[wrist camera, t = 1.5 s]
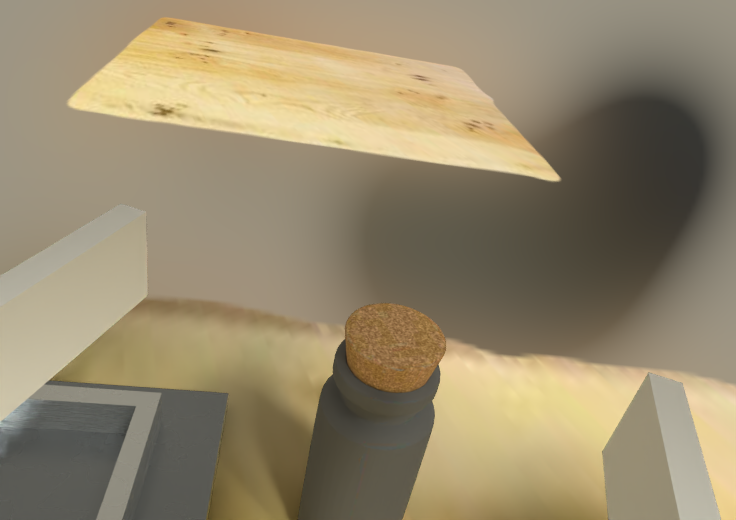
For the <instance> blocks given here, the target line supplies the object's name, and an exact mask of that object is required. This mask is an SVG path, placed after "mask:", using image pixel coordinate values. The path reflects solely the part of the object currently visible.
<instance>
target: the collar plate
mask: <svg viewBox="0 0 736 520" xmlns="http://www.w3.org/2000/svg"><path fill="white" fill-rule="evenodd" d="M227 406H228V393H216V392H202V391H188V390H174V389H160V388H146V387H132V386H118V385H104V384H90V383H76V382H62V381H48V382H46V383H45V384H44V385H43V386H42V387H41V388H39V389H38V390H37V391H36V392H35V393H34V394H32V395H31V396H30V397H29V398H28V399H27V400H25V401H24V402H23V403H22V404H21V405H20V406H18V407H17V408H16V409H15V410H14V411H13V412H11V413H10V414H9V415H8V416H7V417H6V418H4V419H3V420H2V421H1V422H0V520H208V515H209V509H210V503H211V497H212V492H213V486H214V480H215V475H216V469H217V463H218V458H219V452H220V446H221V440H222V435H223V429H224V423H225V418H226V412H227Z"/></svg>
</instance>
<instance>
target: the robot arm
mask: <svg viewBox="0 0 736 520" xmlns="http://www.w3.org/2000/svg"><path fill="white" fill-rule="evenodd" d="M146 222H147V216H146V212H145V211H142V210H139V209H136V208H133V207H130V206H127V205H124V204H120V205H118V206H116V207H115V208H113V209H111V210H110V211H108V212H106V213H105V214H103V215H101V216H99V217H98V218H96V219H94V220H93V221H91V222H89V223H88V224H86V225H84V226H83V227H81V228H79V229H77V230H76V231H74V232H72V233H71V234H69V235H67V236H66V237H64V238H62V239H61V240H59V241H57V242H56V243H54V244H52V245H51V246H49V247H47V248H46V249H44V250H42V251H40V252H39V253H37V254H36V255H34V256H32V257H30V258H29V259H27V260H26V261H24V262H22V263H20V264H19V265H17V266H15V267H14V268H12V269H10V270H8V271H7V272H5V273H3V274H2V275H0V422H1V421H2V420H3V419H4V418H6V417H7V416H8V415H9V414H10V413H11V412H13V411H14V410H15V409H16V408H17V407H18V406H20V405H21V404H22V403H23V402H24V401H25V400H27V399H28V398H29V397H30V396H31V395H32V394H34V393H35V392H36V391H37V390H38V389H39V388H41V387H42V386H43V385H44V384H45V383H46V382H48V381H49V380H50V379H51V378H52V377H53V376H55V375H56V374H57V373H58V372H59V371H60V370H62V369H63V368H64V367H65V366H66V365H67V364H69V363H70V362H71V361H72V360H73V359H74V358H76V357H77V356H78V355H79V354H80V353H81V352H83V351H84V350H85V349H86V348H87V347H88V346H90V345H91V344H92V343H93V342H94V341H95V340H97V339H98V338H99V337H100V336H101V335H102V334H104V333H105V332H106V331H107V330H108V329H109V328H111V327H112V326H113V325H114V324H115V323H116V322H118V321H119V320H120V319H121V318H122V317H123V316H125V315H126V314H127V313H128V312H129V311H130V310H132V309H133V308H134V307H135V306H136V305H137V304H139V303H140V302H141V301H142V300H143V299H144V298H146V297H147V296H148V280H147V278H148V277H147V223H146ZM602 454H603V465H604V477H605V488H606V499H607V511H608V520H721V517H720V513H719V510H718V506H717V503H716V499H715V496H714V492H713V489H712V485H711V482H710V478H709V475H708V471H707V468H706V464H705V461H704V457H703V454H702V450H701V447H700V443H699V440H698V436H697V433H696V429H695V425H694V422H693V418H692V415H691V411H690V408H689V404H688V401H687V397H686V394H685V390H684V387H683V383H681V382H677V381H674V380H671V379H668V378H665V377H662V376H659V375H656V374H652V373H648V374H647V376H646V378H645V379H644V381H643V383H642V385H641V386H640V388H639V390H638V391H637V393H636V395H635V397H634V398H633V400H632V402H631V403H630V405H629V407H628V409H627V410H626V412H625V414H624V415H623V417H622V419H621V421H620V422H619V424H618V426H617V427H616V429H615V431H614V432H613V434H612V436H611V438H610V439H609V441H608V443H607V444H606V446H605V448H604V450H603V451H602Z"/></svg>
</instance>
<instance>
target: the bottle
mask: <svg viewBox="0 0 736 520" xmlns="http://www.w3.org/2000/svg"><path fill="white" fill-rule="evenodd" d="M445 351H446V341H445V337H444V335H443V333H442V331H441V329H440V328H439V327H438V325H436V323H434V322H433V321H432V320H431V319H430V318H429V317H427V316H426V315H424V314H422V313H420V312H419V311H416V310H414V309H411V308H408V307H406V306H402V305H397V304H390V303H377V304H371V305H367V306H364V307H361V308H359V309H358V310H356V311H355V312H354V313H352V314H351V315H350V317H349V318H348V320H347V322H346V326H345V340H344V341H343V342H342V343H341V344H340V345H339V347H338V349H337V351H336V354H335V359H334V364H333V375H332V376H331V377H330V378H328V380H327V381H326V383H325V384H324V386H323V388H322V392H321V395H320V399H319V404H318V409H317V414H316V419H315V424H314V430H313V435H312V441H311V446H310V452H309V457H308V463H307V468H306V474H305V479H304V485H303V490H302V496H301V502H300V509H299V515H298V520H402V519H403V516H404V513H405V510H406V507H407V504H408V501H409V498H410V495H411V492H412V489H413V486H414V483H415V480H416V477H417V474H418V471H419V468H420V465H421V462H422V459H423V456H424V453H425V450H426V447H427V444H428V441H429V437H430V434H431V431H432V428H433V424H434V417H435V412H434V406H433V403H432V400H433V399H434V396H435V394H436V392H437V389H438V386H439V383H440V369H439V365H438V364H439V362H440V361H441V359H442V357H443V356H444V353H445Z"/></svg>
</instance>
